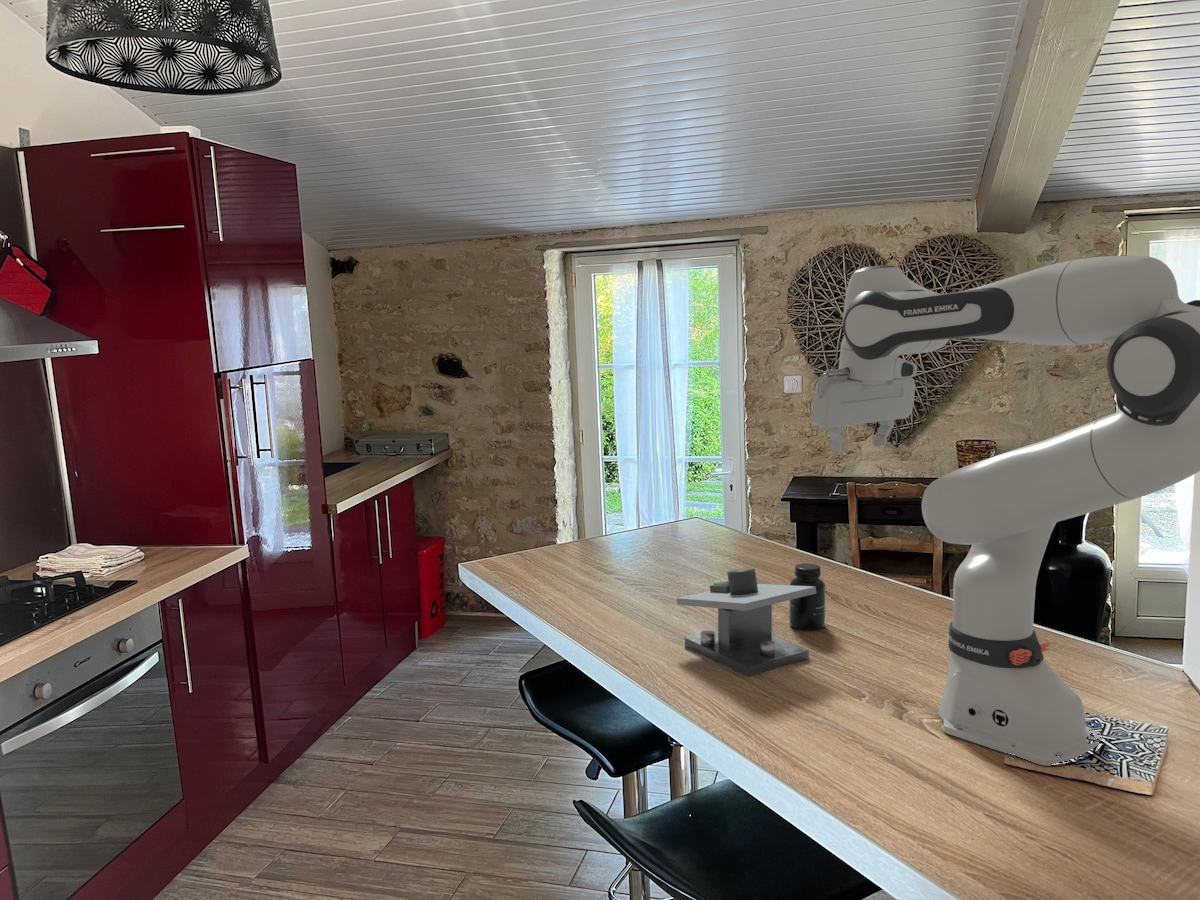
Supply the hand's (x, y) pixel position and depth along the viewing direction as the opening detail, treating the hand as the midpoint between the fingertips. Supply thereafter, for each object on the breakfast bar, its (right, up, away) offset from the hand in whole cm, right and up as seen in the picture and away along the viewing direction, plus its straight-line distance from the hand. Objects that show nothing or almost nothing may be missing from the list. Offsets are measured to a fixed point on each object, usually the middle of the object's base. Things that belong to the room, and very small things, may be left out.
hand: (859, 448), depth 155 cm
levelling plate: (-17, -27, +13) cm, 35 cm away
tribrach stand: (-17, -37, +14) cm, 43 cm away
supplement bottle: (-3, -35, +28) cm, 45 cm away
